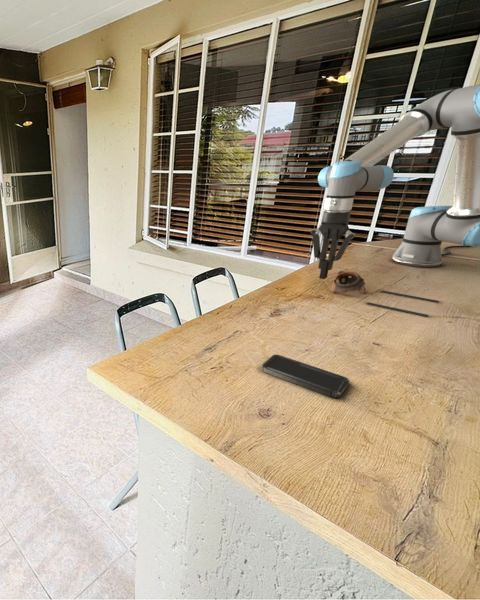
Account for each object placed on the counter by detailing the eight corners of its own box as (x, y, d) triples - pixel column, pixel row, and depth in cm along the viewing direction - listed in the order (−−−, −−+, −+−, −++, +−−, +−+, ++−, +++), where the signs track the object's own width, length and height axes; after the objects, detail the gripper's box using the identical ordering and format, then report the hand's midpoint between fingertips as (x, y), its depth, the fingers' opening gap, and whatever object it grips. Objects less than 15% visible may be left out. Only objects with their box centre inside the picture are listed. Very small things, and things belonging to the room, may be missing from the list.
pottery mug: (373, 297, 115) (370, 279, 111) (341, 308, 118) (338, 291, 114) (352, 278, 125) (349, 260, 121) (323, 288, 128) (319, 272, 124)
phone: (339, 395, 68) (260, 366, 79) (338, 400, 68) (259, 370, 79) (351, 378, 73) (275, 353, 83) (349, 383, 73) (274, 357, 84)
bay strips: (381, 291, 119) (382, 290, 119) (438, 301, 109) (438, 300, 108) (366, 304, 110) (366, 303, 110) (427, 317, 99) (427, 316, 99)
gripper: (310, 210, 119) (298, 276, 127) (356, 213, 109) (340, 284, 118) (319, 208, 123) (307, 272, 132) (364, 210, 113) (348, 279, 122)
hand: (322, 278), depth 125 cm, fingers closed
